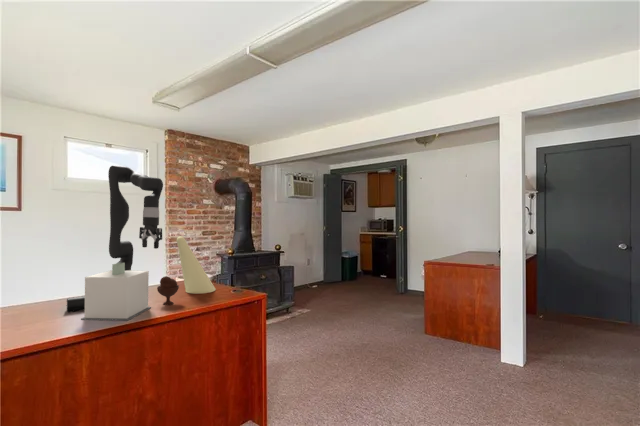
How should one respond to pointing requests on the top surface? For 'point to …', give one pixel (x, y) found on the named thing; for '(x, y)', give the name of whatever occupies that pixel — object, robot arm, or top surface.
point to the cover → (116, 293)
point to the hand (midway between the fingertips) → (150, 247)
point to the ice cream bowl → (167, 288)
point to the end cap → (76, 304)
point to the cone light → (193, 270)
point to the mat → (116, 318)
